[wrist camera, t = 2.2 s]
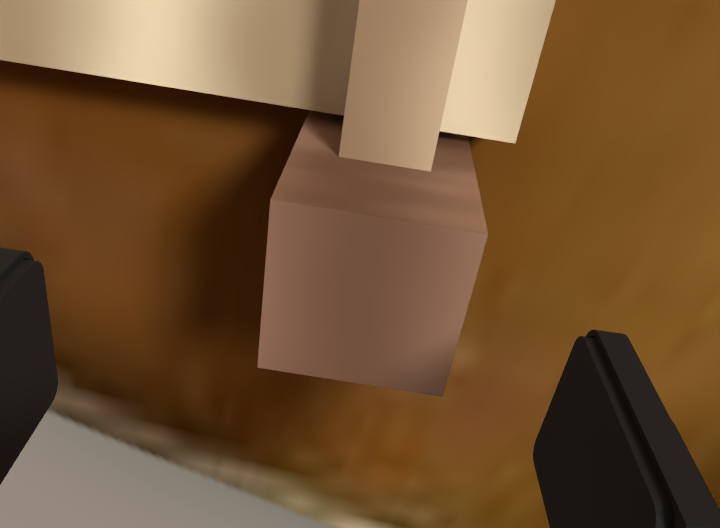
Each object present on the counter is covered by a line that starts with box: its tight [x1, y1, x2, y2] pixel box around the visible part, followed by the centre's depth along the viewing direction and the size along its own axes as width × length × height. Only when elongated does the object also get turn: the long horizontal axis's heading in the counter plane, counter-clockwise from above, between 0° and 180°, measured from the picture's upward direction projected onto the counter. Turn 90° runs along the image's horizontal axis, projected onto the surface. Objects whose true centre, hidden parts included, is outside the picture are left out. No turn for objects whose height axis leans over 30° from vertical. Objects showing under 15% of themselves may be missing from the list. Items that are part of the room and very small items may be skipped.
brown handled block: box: [257, 0, 488, 397], centre depth 13 cm, size 4×13×6 cm, turn 172°
